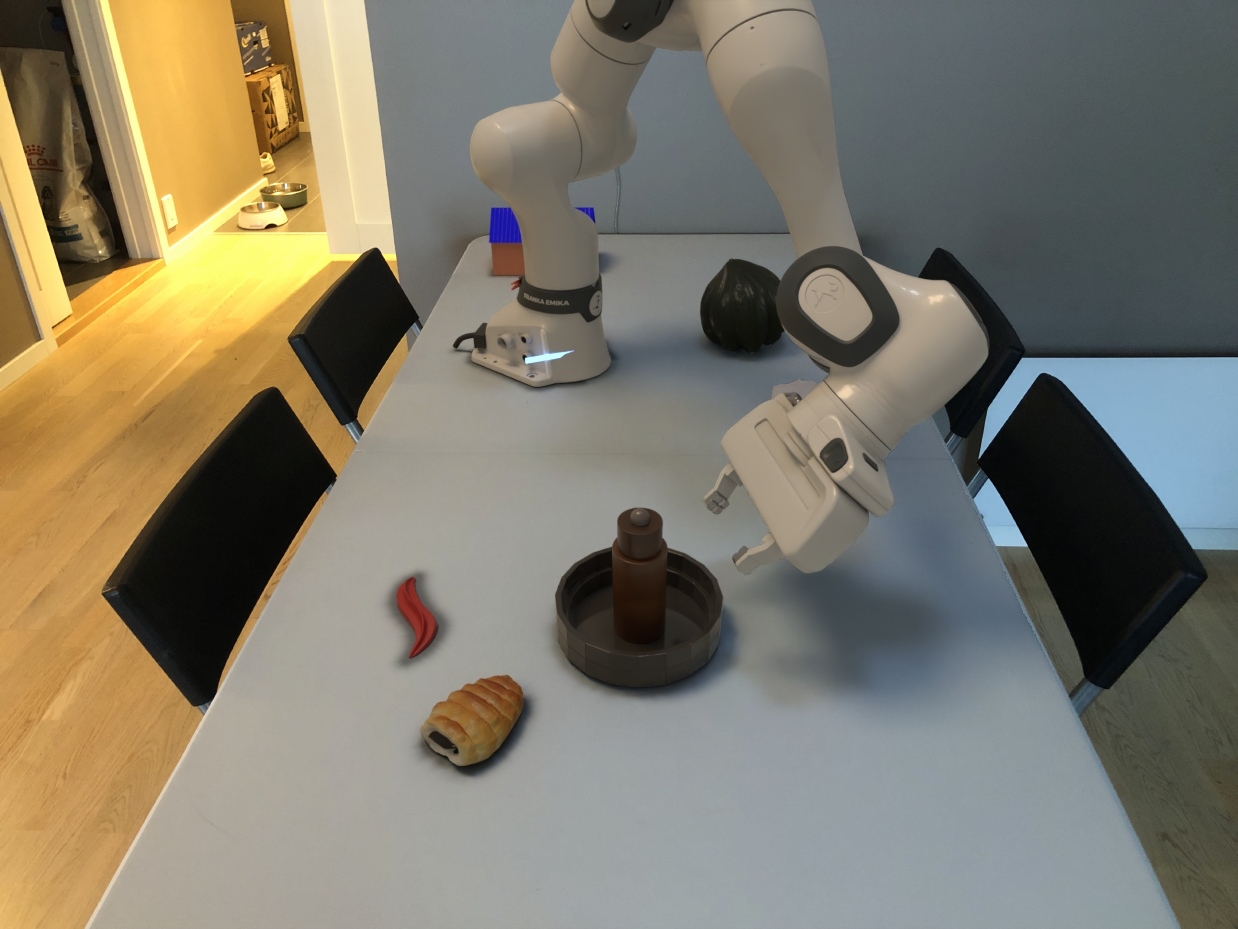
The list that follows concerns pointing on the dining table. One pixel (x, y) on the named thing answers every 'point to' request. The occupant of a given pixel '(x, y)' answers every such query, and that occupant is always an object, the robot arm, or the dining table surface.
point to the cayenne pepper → (416, 616)
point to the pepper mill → (639, 576)
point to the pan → (638, 664)
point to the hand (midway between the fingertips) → (723, 536)
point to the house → (511, 241)
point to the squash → (741, 307)
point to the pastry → (474, 719)
